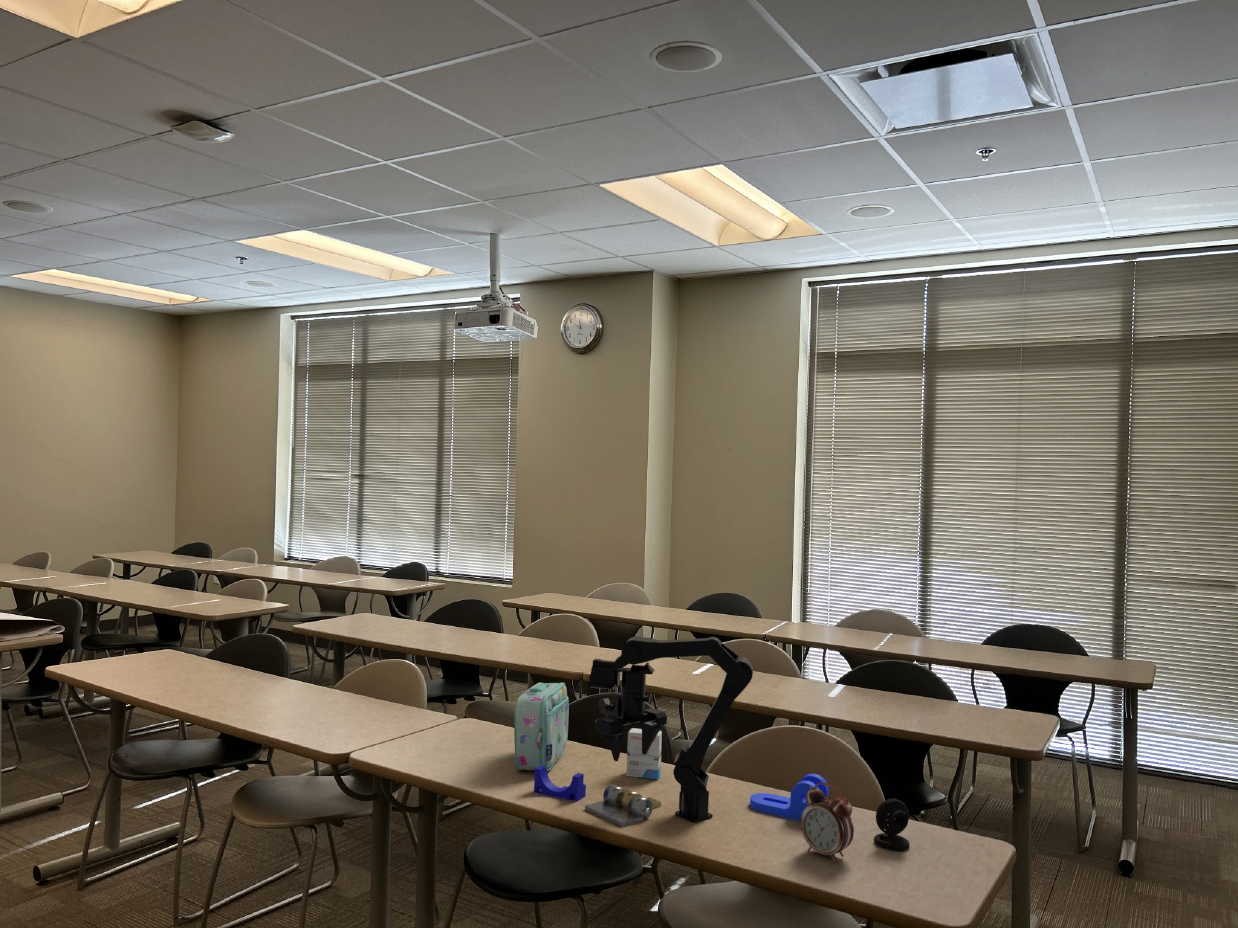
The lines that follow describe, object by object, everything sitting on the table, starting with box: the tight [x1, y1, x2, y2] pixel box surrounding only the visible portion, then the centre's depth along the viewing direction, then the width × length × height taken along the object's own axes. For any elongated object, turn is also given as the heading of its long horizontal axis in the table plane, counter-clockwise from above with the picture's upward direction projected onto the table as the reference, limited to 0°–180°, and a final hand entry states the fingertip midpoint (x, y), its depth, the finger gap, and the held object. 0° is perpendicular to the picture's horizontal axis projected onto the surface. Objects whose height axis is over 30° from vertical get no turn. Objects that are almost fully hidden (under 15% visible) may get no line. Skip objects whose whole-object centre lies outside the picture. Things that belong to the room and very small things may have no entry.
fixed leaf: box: [584, 784, 654, 828], centre depth 203 cm, size 14×10×4 cm
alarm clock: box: [800, 782, 855, 863], centre depth 184 cm, size 11×5×15 cm, turn 45°
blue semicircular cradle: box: [533, 765, 587, 803], centre depth 214 cm, size 12×4×6 cm, turn 65°
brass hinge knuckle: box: [618, 788, 662, 810], centre depth 207 cm, size 4×10×4 cm, turn 131°
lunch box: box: [513, 682, 569, 772], centre depth 239 cm, size 27×10×21 cm, turn 171°
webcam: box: [873, 798, 911, 852], centre depth 192 cm, size 8×8×10 cm
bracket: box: [749, 773, 830, 822], centre depth 210 cm, size 18×8×9 cm, turn 62°
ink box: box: [625, 727, 663, 781], centre depth 231 cm, size 9×5×12 cm, turn 76°
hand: (630, 757), depth 207 cm, fingers open, 9 cm apart
